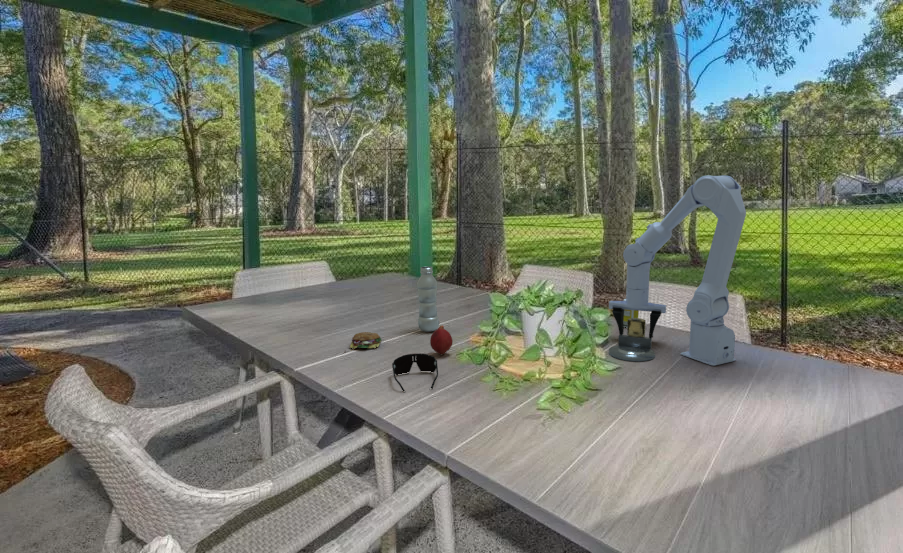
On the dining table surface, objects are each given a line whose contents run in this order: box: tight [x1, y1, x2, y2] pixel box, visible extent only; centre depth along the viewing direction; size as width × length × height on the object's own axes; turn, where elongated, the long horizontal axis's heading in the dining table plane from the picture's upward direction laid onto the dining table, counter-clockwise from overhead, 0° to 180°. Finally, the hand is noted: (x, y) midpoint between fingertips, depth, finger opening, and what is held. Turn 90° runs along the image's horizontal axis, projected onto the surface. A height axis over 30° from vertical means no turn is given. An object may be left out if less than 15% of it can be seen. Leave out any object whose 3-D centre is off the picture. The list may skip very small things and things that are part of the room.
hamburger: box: [349, 331, 382, 350], centre depth 137 cm, size 14×14×6 cm
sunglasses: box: [391, 352, 439, 392], centre depth 111 cm, size 10×12×5 cm
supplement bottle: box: [623, 298, 640, 329], centre depth 149 cm, size 5×5×8 cm
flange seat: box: [608, 334, 656, 363], centre depth 124 cm, size 11×11×3 cm
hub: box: [626, 317, 647, 337], centre depth 135 cm, size 5×5×6 cm
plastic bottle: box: [416, 266, 440, 333], centre depth 150 cm, size 6×7×20 cm
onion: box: [429, 325, 453, 355], centre depth 128 cm, size 6×6×8 cm
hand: (635, 335), depth 135 cm, fingers open, 7 cm apart
